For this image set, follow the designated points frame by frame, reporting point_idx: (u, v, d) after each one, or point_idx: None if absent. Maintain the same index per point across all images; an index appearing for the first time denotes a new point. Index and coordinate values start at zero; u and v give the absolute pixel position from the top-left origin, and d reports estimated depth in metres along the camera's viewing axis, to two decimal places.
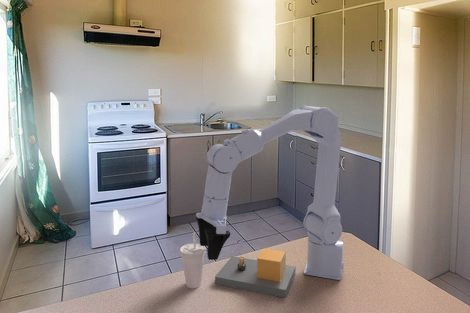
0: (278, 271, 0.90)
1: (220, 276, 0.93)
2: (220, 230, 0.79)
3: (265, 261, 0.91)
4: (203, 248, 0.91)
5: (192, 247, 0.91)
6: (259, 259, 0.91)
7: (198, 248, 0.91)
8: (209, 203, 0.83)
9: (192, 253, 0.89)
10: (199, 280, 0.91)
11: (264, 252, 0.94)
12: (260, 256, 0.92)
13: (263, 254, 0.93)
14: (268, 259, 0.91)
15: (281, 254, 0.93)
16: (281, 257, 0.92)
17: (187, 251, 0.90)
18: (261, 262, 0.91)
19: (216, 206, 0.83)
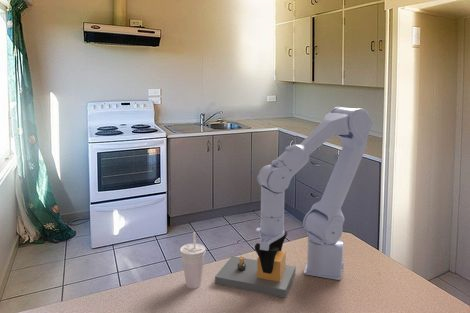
0: (278, 271, 0.90)
1: (220, 276, 0.93)
2: (262, 246, 0.85)
3: None
4: (203, 248, 0.91)
5: (192, 247, 0.91)
6: (259, 259, 0.91)
7: (198, 248, 0.91)
8: (262, 220, 0.90)
9: (192, 253, 0.89)
10: (199, 280, 0.91)
11: None
12: None
13: None
14: None
15: (281, 254, 0.93)
16: (281, 257, 0.92)
17: (187, 251, 0.90)
18: None
19: (266, 223, 0.89)
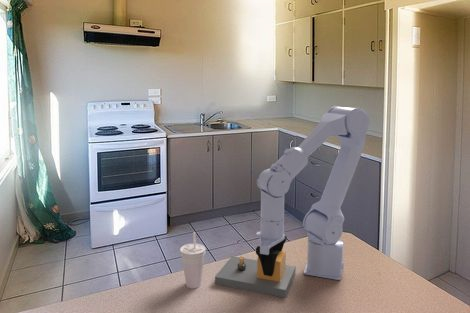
0: (278, 271, 0.90)
1: (220, 276, 0.93)
2: (262, 251, 0.85)
3: None
4: (203, 248, 0.91)
5: (192, 247, 0.91)
6: (259, 259, 0.91)
7: (198, 248, 0.91)
8: (262, 223, 0.90)
9: (192, 253, 0.89)
10: (199, 280, 0.91)
11: None
12: None
13: None
14: None
15: (281, 254, 0.93)
16: (281, 257, 0.92)
17: (187, 251, 0.90)
18: None
19: (266, 227, 0.89)
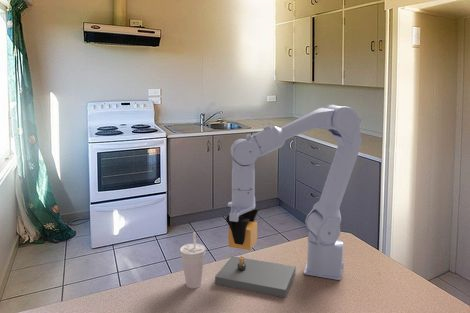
0: (248, 239, 0.91)
1: (220, 276, 0.93)
2: (231, 218, 0.87)
3: None
4: (203, 248, 0.91)
5: (192, 247, 0.91)
6: None
7: (198, 248, 0.91)
8: (232, 193, 0.91)
9: (192, 253, 0.89)
10: (199, 280, 0.91)
11: None
12: None
13: None
14: None
15: (252, 224, 0.94)
16: (252, 226, 0.93)
17: (187, 251, 0.90)
18: None
19: (237, 196, 0.90)
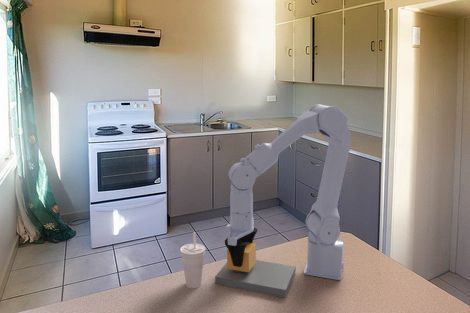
0: (247, 262, 0.92)
1: (220, 276, 0.93)
2: (230, 242, 0.88)
3: None
4: (203, 248, 0.91)
5: (192, 247, 0.91)
6: None
7: (198, 248, 0.91)
8: (231, 216, 0.93)
9: (192, 253, 0.89)
10: (199, 280, 0.91)
11: None
12: None
13: None
14: None
15: (251, 246, 0.96)
16: (250, 248, 0.94)
17: (187, 251, 0.90)
18: None
19: (235, 219, 0.91)
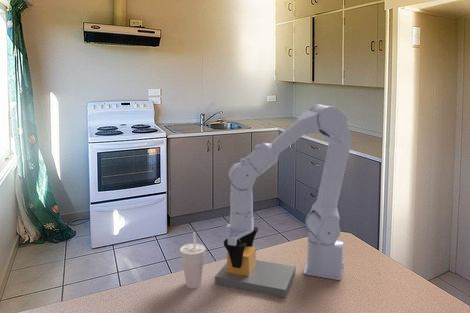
0: (247, 266, 0.92)
1: (220, 276, 0.93)
2: (230, 242, 0.88)
3: None
4: (203, 248, 0.91)
5: (192, 247, 0.91)
6: None
7: (198, 248, 0.91)
8: (231, 216, 0.93)
9: (192, 253, 0.89)
10: (199, 280, 0.91)
11: None
12: None
13: None
14: None
15: (251, 249, 0.96)
16: (250, 252, 0.94)
17: (187, 251, 0.90)
18: None
19: (235, 219, 0.91)
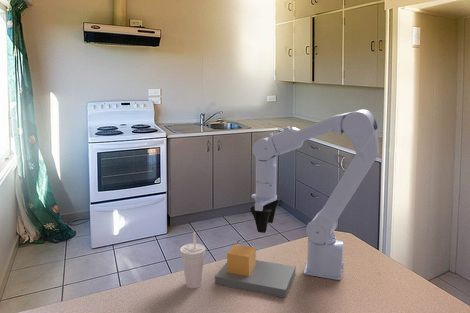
0: (247, 266, 0.92)
1: (220, 276, 0.93)
2: (257, 207, 0.97)
3: (234, 256, 0.93)
4: (203, 248, 0.91)
5: (192, 247, 0.91)
6: (229, 254, 0.94)
7: (198, 248, 0.91)
8: (256, 185, 1.02)
9: (192, 253, 0.89)
10: (199, 280, 0.91)
11: (235, 247, 0.97)
12: (230, 251, 0.95)
13: (233, 249, 0.96)
14: (237, 254, 0.93)
15: (251, 249, 0.96)
16: (250, 252, 0.94)
17: (187, 251, 0.90)
18: (231, 257, 0.94)
19: (260, 188, 1.00)
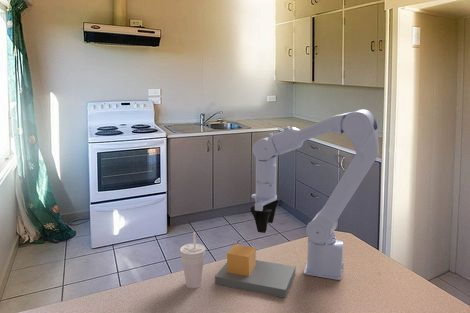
0: (247, 266, 0.92)
1: (220, 276, 0.93)
2: (257, 207, 0.97)
3: (234, 256, 0.93)
4: (203, 248, 0.91)
5: (192, 247, 0.91)
6: (229, 254, 0.94)
7: (198, 248, 0.91)
8: (256, 185, 1.02)
9: (192, 253, 0.89)
10: (199, 280, 0.91)
11: (235, 247, 0.97)
12: (230, 251, 0.95)
13: (233, 249, 0.96)
14: (237, 254, 0.93)
15: (251, 249, 0.96)
16: (250, 252, 0.94)
17: (187, 251, 0.90)
18: (231, 257, 0.94)
19: (260, 188, 1.00)
